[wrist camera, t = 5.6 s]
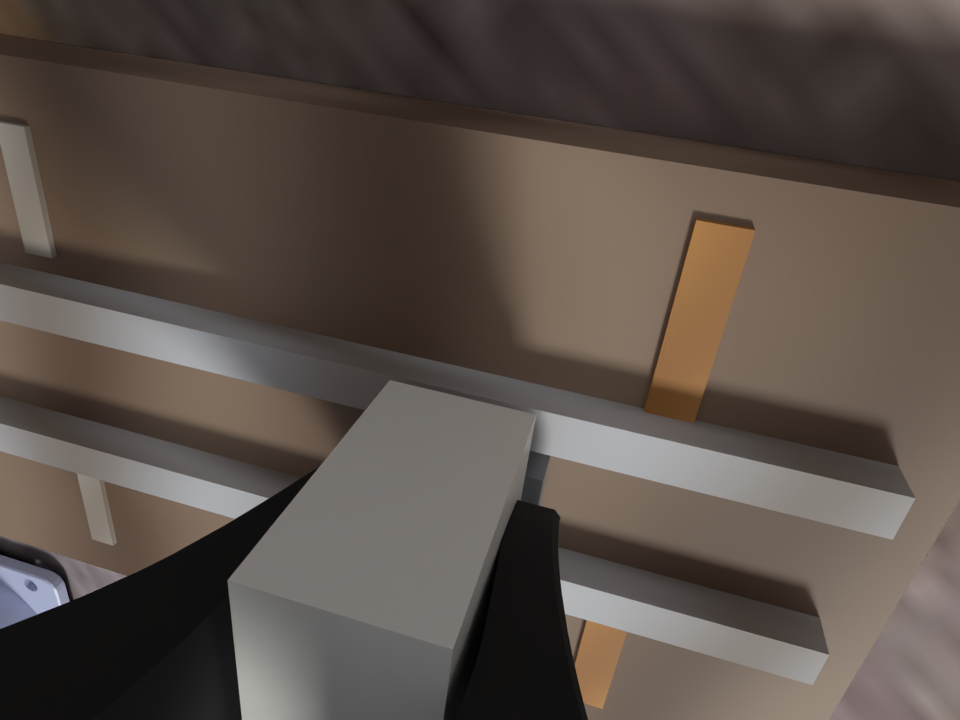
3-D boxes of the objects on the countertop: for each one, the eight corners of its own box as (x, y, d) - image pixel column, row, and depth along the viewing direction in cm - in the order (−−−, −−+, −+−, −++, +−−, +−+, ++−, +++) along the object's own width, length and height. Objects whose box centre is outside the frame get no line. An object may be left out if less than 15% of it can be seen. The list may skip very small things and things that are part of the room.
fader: (381, 544, 13) (232, 808, 9) (390, 354, 11) (201, 572, 7) (525, 585, 13) (444, 887, 8) (563, 394, 11) (483, 658, 6)
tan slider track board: (71, 481, 19) (-30, 556, 16) (-37, 28, 14) (-219, 28, 11) (774, 686, 16) (796, 824, 13) (1026, 191, 10) (1160, 252, 7)
